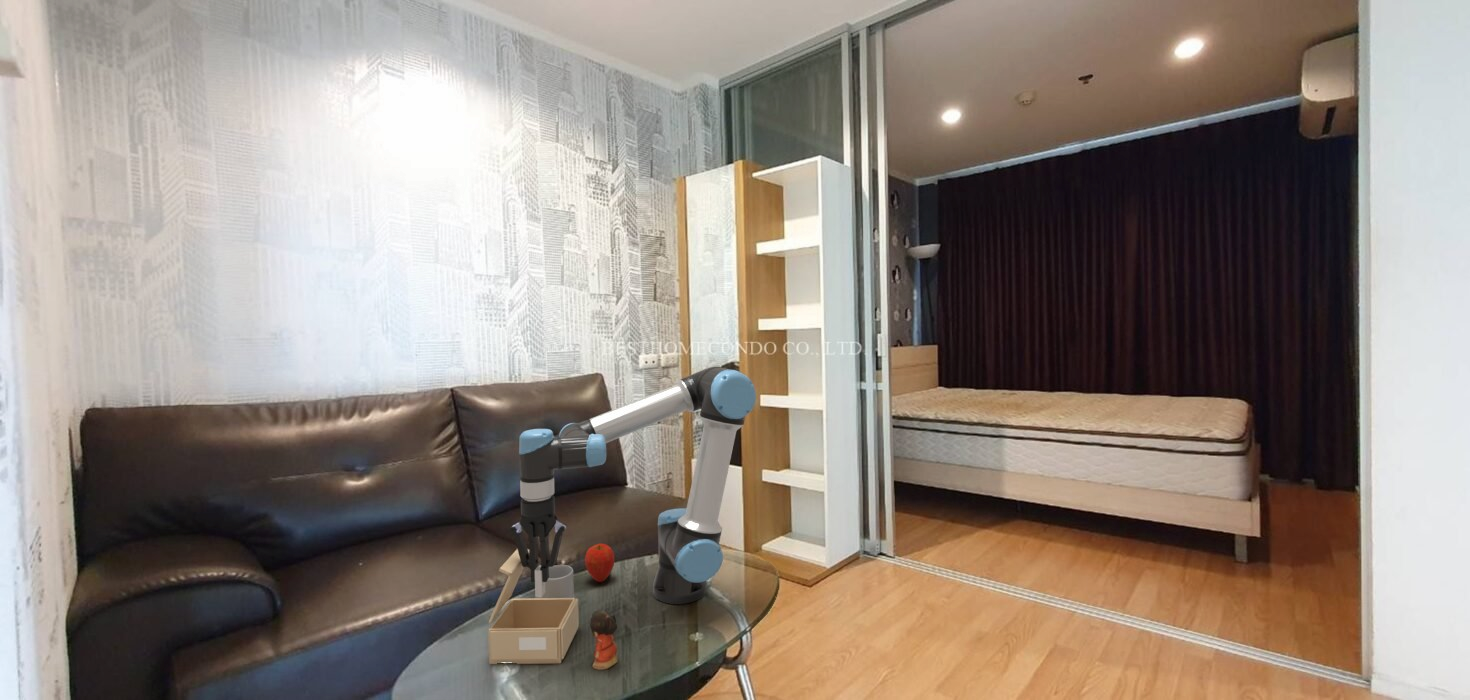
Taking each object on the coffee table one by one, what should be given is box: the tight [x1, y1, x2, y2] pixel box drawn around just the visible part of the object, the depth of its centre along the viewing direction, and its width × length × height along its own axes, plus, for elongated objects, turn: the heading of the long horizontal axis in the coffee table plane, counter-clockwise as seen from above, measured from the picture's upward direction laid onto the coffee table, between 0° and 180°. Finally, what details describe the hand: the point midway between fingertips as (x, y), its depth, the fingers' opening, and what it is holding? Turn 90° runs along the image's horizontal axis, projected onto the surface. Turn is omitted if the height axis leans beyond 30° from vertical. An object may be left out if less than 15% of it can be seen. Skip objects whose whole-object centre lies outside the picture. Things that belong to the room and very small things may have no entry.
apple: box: [584, 543, 615, 583], centre depth 171 cm, size 9×8×11 cm
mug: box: [539, 564, 575, 598], centre depth 155 cm, size 12×8×11 cm
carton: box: [488, 597, 580, 665], centre depth 138 cm, size 16×15×8 cm
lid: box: [488, 548, 529, 624], centre depth 137 cm, size 12×13×3 cm
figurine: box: [589, 610, 619, 670], centre depth 131 cm, size 6×6×12 cm
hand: (540, 594), depth 137 cm, fingers closed
